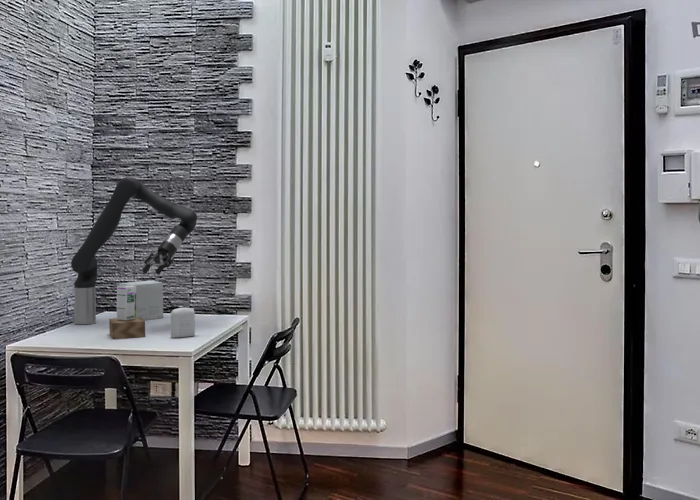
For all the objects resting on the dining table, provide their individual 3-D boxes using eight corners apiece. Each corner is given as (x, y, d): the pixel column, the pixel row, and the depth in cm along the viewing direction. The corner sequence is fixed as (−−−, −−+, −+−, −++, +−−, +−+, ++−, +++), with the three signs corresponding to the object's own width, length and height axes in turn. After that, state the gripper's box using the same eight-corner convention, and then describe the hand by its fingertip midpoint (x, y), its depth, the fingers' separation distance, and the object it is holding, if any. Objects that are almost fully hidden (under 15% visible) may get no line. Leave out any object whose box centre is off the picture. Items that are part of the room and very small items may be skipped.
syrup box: (126, 320, 285) (126, 286, 284) (115, 319, 288) (116, 285, 287) (136, 319, 290) (136, 285, 289) (126, 317, 293) (126, 284, 292)
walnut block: (112, 340, 280) (112, 323, 279) (109, 334, 291) (109, 318, 291) (145, 337, 285) (145, 321, 285) (140, 332, 297) (140, 317, 297)
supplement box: (150, 315, 345) (150, 280, 344) (164, 318, 336) (163, 282, 335) (118, 319, 333) (118, 282, 332) (131, 322, 324) (131, 284, 323)
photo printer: (192, 334, 291) (192, 306, 291) (196, 336, 288) (196, 307, 287) (169, 337, 285) (169, 308, 285) (173, 338, 282) (172, 309, 281)
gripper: (154, 239, 307) (134, 266, 298) (176, 240, 299) (156, 268, 290) (163, 250, 312) (144, 277, 303) (185, 252, 304) (166, 279, 295)
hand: (150, 272), depth 297 cm, fingers open, 8 cm apart
